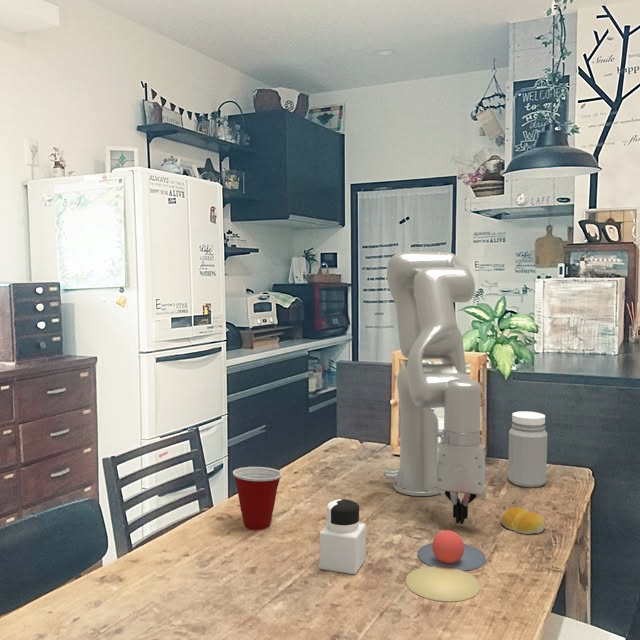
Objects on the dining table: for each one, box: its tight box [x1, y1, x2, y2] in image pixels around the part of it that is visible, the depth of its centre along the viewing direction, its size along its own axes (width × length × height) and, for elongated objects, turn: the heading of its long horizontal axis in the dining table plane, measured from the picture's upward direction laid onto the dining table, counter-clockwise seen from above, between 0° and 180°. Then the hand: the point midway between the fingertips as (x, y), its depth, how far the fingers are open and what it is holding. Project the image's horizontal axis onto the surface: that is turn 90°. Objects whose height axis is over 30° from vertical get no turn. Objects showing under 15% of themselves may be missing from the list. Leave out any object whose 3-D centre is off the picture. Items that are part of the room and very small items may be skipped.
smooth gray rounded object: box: [417, 542, 487, 572], centre depth 131 cm, size 13×13×1 cm
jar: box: [507, 410, 548, 488], centre depth 176 cm, size 10×10×18 cm
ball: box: [431, 530, 465, 564], centre depth 128 cm, size 6×6×6 cm
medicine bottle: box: [318, 498, 367, 575], centre depth 127 cm, size 7×7×12 cm
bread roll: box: [500, 506, 546, 535], centre depth 146 cm, size 8×9×4 cm
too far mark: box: [405, 566, 481, 603], centre depth 120 cm, size 13×13×1 cm
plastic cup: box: [232, 466, 284, 531], centre depth 147 cm, size 11×11×12 cm
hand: (460, 521), depth 145 cm, fingers closed
